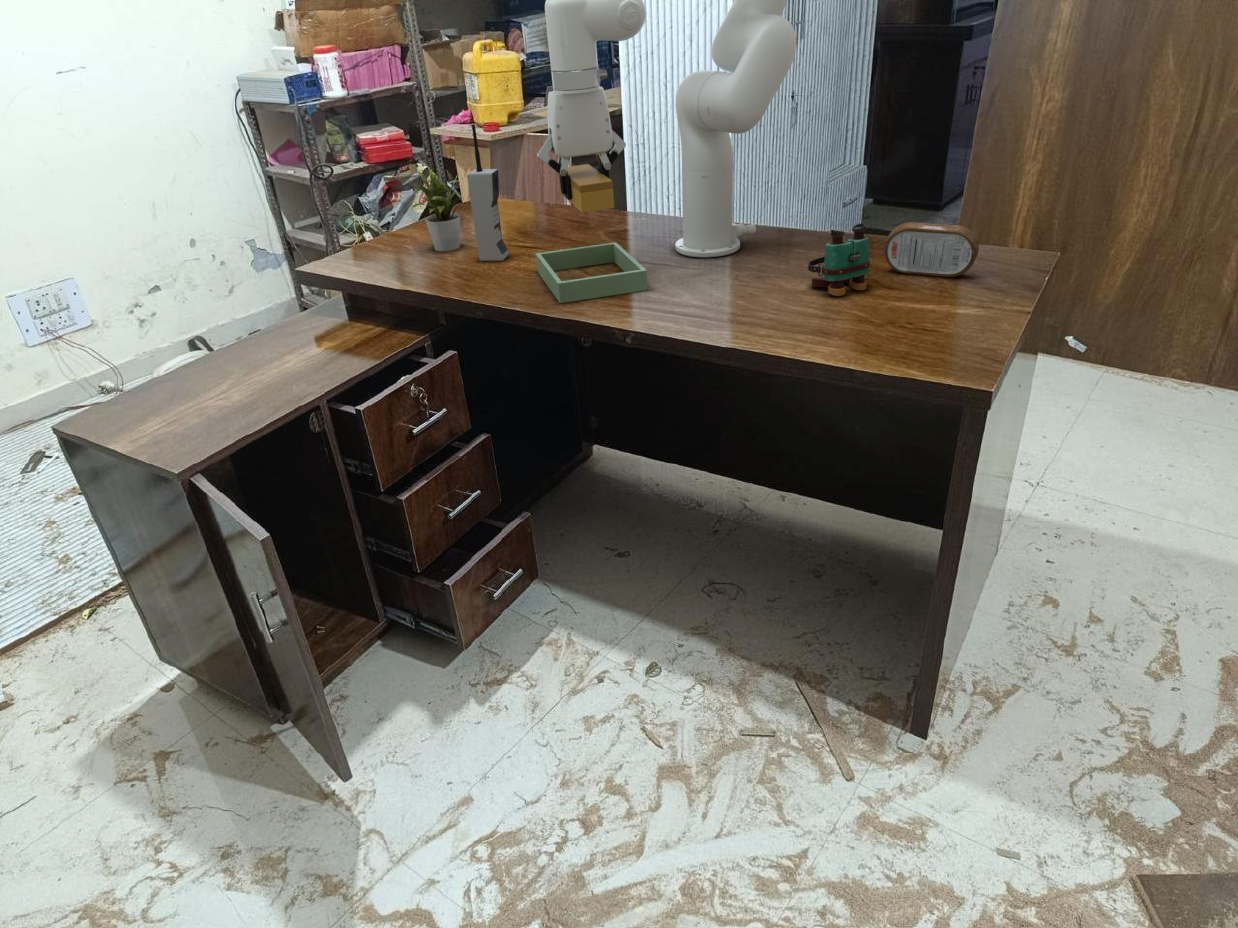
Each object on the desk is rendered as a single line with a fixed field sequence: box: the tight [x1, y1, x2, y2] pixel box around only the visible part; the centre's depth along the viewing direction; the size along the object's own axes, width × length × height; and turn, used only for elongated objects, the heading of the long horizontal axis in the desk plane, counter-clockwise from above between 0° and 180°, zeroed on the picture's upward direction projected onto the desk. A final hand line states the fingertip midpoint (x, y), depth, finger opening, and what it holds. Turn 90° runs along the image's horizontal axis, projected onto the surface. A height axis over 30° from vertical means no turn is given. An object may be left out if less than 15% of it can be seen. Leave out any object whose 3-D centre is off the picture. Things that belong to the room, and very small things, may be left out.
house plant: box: [402, 166, 470, 252], centre depth 170 cm, size 14×14×16 cm
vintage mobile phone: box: [466, 123, 509, 262], centre depth 159 cm, size 4×5×25 cm
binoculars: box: [807, 222, 871, 297], centre depth 138 cm, size 9×11×10 cm
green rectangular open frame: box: [535, 241, 649, 304], centre depth 150 cm, size 16×19×4 cm
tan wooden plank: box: [558, 163, 615, 214], centre depth 143 cm, size 6×15×4 cm, turn 17°
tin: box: [883, 221, 980, 278], centre depth 142 cm, size 15×3×8 cm, turn 65°
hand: (585, 194), depth 144 cm, fingers closed on tan wooden plank, 5 cm apart
